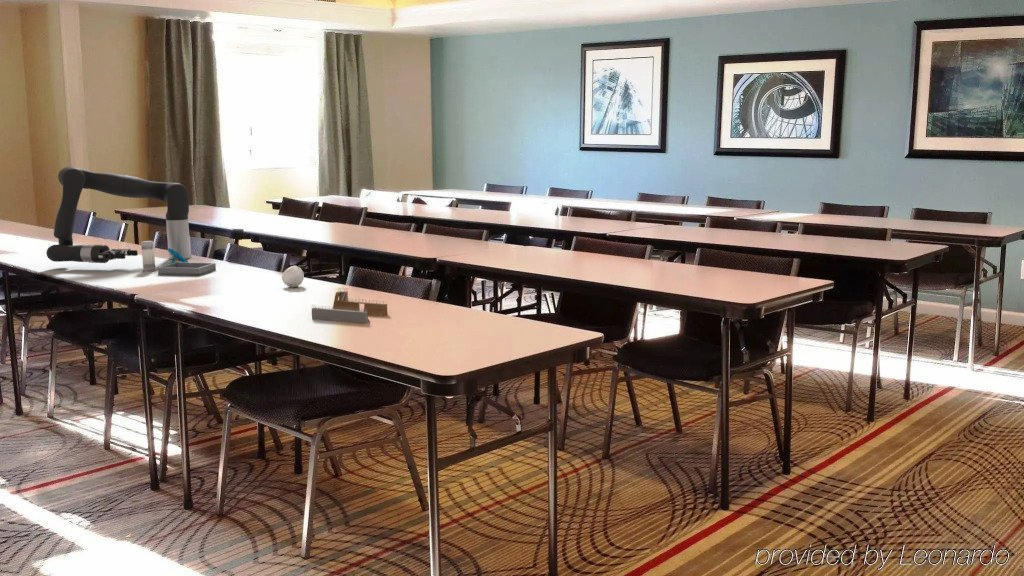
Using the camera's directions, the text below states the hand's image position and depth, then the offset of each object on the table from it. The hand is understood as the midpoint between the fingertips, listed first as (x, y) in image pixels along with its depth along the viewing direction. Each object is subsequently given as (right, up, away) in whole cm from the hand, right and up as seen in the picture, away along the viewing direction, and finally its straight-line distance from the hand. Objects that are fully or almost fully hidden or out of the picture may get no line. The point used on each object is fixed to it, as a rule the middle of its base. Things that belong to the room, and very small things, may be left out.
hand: (131, 254), depth 384 cm
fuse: (+8, -7, 0) cm, 10 cm away
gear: (+14, -4, +14) cm, 21 cm away
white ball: (+76, -13, -39) cm, 86 cm away
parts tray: (+25, -7, -6) cm, 27 cm away
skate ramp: (+107, -23, -86) cm, 139 cm away
